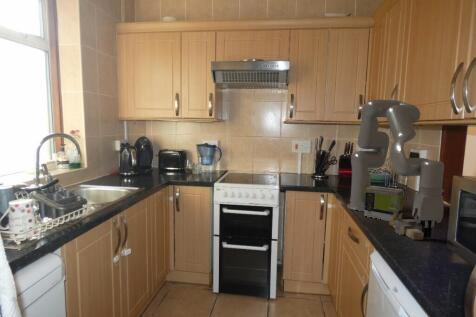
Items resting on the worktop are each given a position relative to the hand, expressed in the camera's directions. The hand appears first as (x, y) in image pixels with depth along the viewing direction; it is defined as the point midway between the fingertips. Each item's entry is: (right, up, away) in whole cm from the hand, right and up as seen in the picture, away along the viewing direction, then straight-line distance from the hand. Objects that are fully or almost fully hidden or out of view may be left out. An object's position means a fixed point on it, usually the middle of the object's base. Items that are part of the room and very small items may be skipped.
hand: (426, 236), depth 116 cm
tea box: (-4, +2, +27) cm, 27 cm away
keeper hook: (-5, 0, +6) cm, 8 cm away
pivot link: (-4, 0, +8) cm, 9 cm away
